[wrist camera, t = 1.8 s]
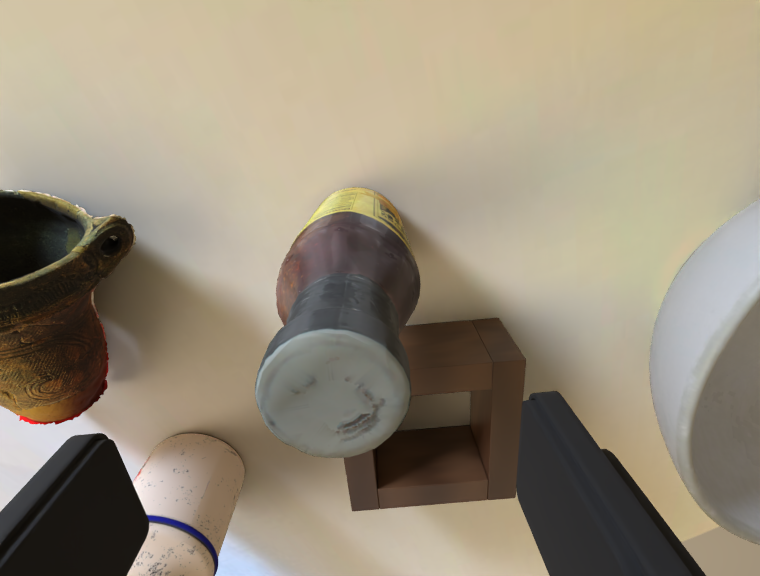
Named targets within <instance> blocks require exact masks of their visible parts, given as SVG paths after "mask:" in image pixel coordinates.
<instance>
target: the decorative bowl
mask: <svg viewBox="0 0 760 576" xmlns="http://www.w3.org/2000/svg"><path fill="white" fill-rule="evenodd" d="M649 370H650V386H651V392H652V399H653V404H654V409H655V413H656V416H657V420H658V424H659V427H660V430H661V433H662V436H663V439H664V441H665V444H666V446H667V449H668V451H669V454H670V456H671V459H672V461H673V463H674V465H675V467H676V469H677V471H678V473H679V475H680V477H681V479H682V481H683V483H684V484H685V486H686V488H687V490H688V491H689V493H690V494H691V496H692V497H693V499H694V500H695V501H696V503H697V504H698V506H699V507H700V508H701V509H702V510H703V511H704V512H705V513H706V514H707V515H708V517H710V518H711V519H712V520H713V521H714V522H716V523H717V524H718V525H719V526H721V527H723V528H724V529H726V530H727V531H729V532H731V533H732V534H734V535H736V536H738V537H740V538H742V539H745V540H747V541H750V542H752V543H755V544H758V545H760V198H759V199H758V200H756V201H755V202H753V203H752V204H750V205H749V206H747V207H746V208H744V209H743V210H741V211H740V212H739V213H737V214H736V215H735V216H733V217H732V218H730V219H729V220H728V221H727V222H726V223H724V224H723V225H722V226H721V227H719V228H718V229H717V230H716V231H715V232H714V233H713V234H712V235H711V236H710V237H708V238H707V239H706V240H705V241H704V242H703V243H702V245H701V246H700V247H699V248H698V249H697V250H696V251H695V252H694V253H693V254H692V256H691V257H690V258H689V259H688V260H687V262H686V263H685V264H684V266H683V267H682V268H681V270H680V271H679V273H678V274H677V276H676V277H675V279H674V281H673V282H672V284H671V286H670V287H669V289H668V291H667V293H666V295H665V297H664V299H663V302H662V304H661V307H660V309H659V312H658V315H657V318H656V321H655V325H654V329H653V334H652V340H651V347H650V361H649Z"/></svg>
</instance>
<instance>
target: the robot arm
mask: <svg viewBox="0 0 760 576" xmlns="http://www.w3.org/2000/svg"><path fill="white" fill-rule="evenodd" d="M516 490H517V496H518V499H519V502H520V505H521V507H522V510H523V512H524V515H525V517H526V520H527V522H528V524H529V527H530V529H531V532H532V534H533V536H534V539H535V541H536V544H537V546H538V549H539V551H540V553H541V556H542V558H543V561H544V563H545V566H546V568H547V570H548V573H549V575H550V576H706V575H705V574H704V572H703V571H702V570H701V568H700V567H699V566H698V564H697V563H696V562H695V560H694V559H693V558H692V557H691V555H690V554H689V552H688V551H687V550H686V548H685V547H684V546H683V545H682V543H681V542H680V541H679V539H678V538H677V537H676V535H675V534H674V533H673V531H672V530H671V529H670V527H669V526H668V525H667V523H666V522H665V521H664V519H663V518H662V517H661V515H660V514H659V513H658V512H657V510H656V509H655V508H654V506H653V505H652V504H651V502H650V501H649V500H648V498H647V497H646V496H645V494H644V493H643V492H642V490H641V489H640V488H639V486H638V485H637V484H636V482H635V481H634V480H633V479H632V477H631V476H630V475H629V473H628V472H627V471H626V469H625V468H624V467H623V465H622V464H621V463H620V461H619V460H618V459H617V458H616V457H615V455H614V454H613V453H612V452H610V451H608V450H607V449H600V448H599V446H598V445H597V443H596V442H595V441H594V439H593V438H592V437H591V435H590V434H589V432H588V431H587V430H586V428H585V427H584V426H583V424H582V423H581V421H580V420H579V419H578V417H577V416H576V415H575V413H574V412H573V411H572V409H571V408H570V406H569V405H568V404H567V402H566V401H565V400H564V398H563V397H562V395H561V394H560V393H559V392H557V391H552V392H541V393H532V394H531V395H530V397H529V400H526V401H523V403H522V411H521V424H520V438H519V452H518V466H517V480H516ZM148 531H149V519H148V517H147V515H146V512H145V510H144V508H143V506H142V503H141V501H140V499H139V497H138V494H137V492H136V490H135V488H134V485H133V483H132V481H131V479H130V476H129V474H128V472H127V470H126V467H125V465H124V463H123V461H122V458H121V456H120V454H119V452H118V449H117V447H116V445H115V443H114V441H113V440H111V439H108V437H107V436H106V435H104V434H102V433H97V434H86V435H75V436H73V437H71V438H69V439H68V440H67V441H66V442H65V443H64V444H63V445H62V446H61V447H60V448H59V449H58V451H57V452H56V453H55V454H54V455H53V456H52V457H51V458H50V459H49V460H48V461H47V462H46V463H45V465H44V466H43V467H42V468H41V469H40V470H39V471H38V472H37V473H36V474H35V475H34V476H33V477H32V478H31V480H30V481H29V482H28V483H27V484H26V485H25V486H24V487H23V488H22V489H21V490H20V491H19V492H18V494H17V495H16V496H15V497H14V498H13V499H12V500H11V501H10V502H9V503H8V504H7V505H6V506H5V508H4V509H3V510H2V511H1V512H0V576H127V574H128V572H129V570H130V569H131V567H132V565H133V563H134V561H135V559H136V557H137V555H138V553H139V551H140V549H141V547H142V545H143V544H144V542H145V540H146V537H147V535H148Z"/></svg>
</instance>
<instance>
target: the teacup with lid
mask: <svg viewBox="0 0 760 576" xmlns="http://www.w3.org/2000/svg"><path fill="white" fill-rule="evenodd" d="M244 477H245V469H244V465H243V462H242V460H241V458H240V457H239V455H238V454H237V453H236V451H235V450H234V449H233V448H232V447H230V446H229V445H228V444H226V443H225V442H223V441H221V440H219V439H217V438H214V437H211V436H208V435H203V434H194V433H189V434H180V435H176V436H173V437H170V438H168V439H166V440H164V441H163V442H161V443H160V444H159V445H157V446H156V448H155V449H154V450H153V451H152V453H151V454H150V456H149V458H148V459H147V461H146V462H145V464H144V465H143V467H142V468H141V470H140V472H139V473H138V475H137V476H136V478H135V479H134V481H133V485H134V488H135V490H136V492H137V494H138V497H139V499H140V501H141V503H142V506H143V508H144V510H145V512H146V515H147V517H148V519H149V531H148V535H147V537H146V540H145V542H144V544H143V545H142V547H141V549H140V551H139V553H138V555H137V557H136V559H135V561H134V563H133V565H132V567H131V569H130V570H129V572H128V574H127V576H215V574H216V572H217V568H218V556H219V553H220V550H221V547H222V544H223V541H224V538H225V535H226V532H227V529H228V526H229V523H230V520H231V517H232V514H233V511H234V508H235V505H236V502H237V500H238V497H239V494H240V491H241V488H242V485H243V482H244Z"/></svg>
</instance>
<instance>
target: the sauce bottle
mask: <svg viewBox="0 0 760 576" xmlns="http://www.w3.org/2000/svg"><path fill="white" fill-rule="evenodd" d="M419 295H420V275H419V271H418V267H417V264H416V261H415V258H414V255H413V253H412V250H411V246H410V243H409V241H408V238H407V236H406V233H405V230H404V227H403V224H402V222H401V219H400V216H399V214H398V212H397V210H396V209H395V207H394V206H393V205H392V203H391V202H390V201H389V200H387V199H386V198H385V197H384V196H382V195H381V194H379V193H377V192H375V191H373V190H370V189H366V188H355V187H353V188H347V189H343V190H340V191H337V192H334V193H333V194H331V195H330V196H329V197H328V198H327V199H325V200H324V201H323V202H322V204H321V205H320V206H319V207H318V209H317V210H316V211H315V213H314V214H313V216H312V217H311V219H310V220H309V221H308V223H307V224H306V225H305V227H304V228H303V229H302V231H301V232H300V233H299V235H298V236H297V238H296V239H295V241H294V242H293V244H292V246H291V248H290V251H289V252H288V253H287V255H286V257H285V259H284V261H283V263H282V266H281V268H280V272H279V277H278V279H277V287H276V296H277V308H278V314H279V316H280V318H281V320H282V322H283V325H284V327H283V328H281V329H280V330H279V331H278V333H277V334H276V335H275V337H274V338H273V340H272V341H271V342H270V344H269V346H268V348H267V351H266V353H265V355H264V358H263V360H262V363H261V365H260V368H259V370H258V374H257V378H256V385H255V396H256V402H257V405H258V408H259V410H260V412H261V415H262V417H263V420H264V422H265V424H266V426H267V427H268V428H269V429H270V431H271V432H272V433H273V434H274V435H275V436H276V437H277V438H278V439H280V440H281V441H282V442H284V443H285V444H287V445H290V446H293V447H295V448H297V449H298V450H300V451H302V452H304V453H306V454H309V455H312V456H317V457H325V458H346V457H352V456H355V455H359V454H362V453H365V452H368V451H369V450H372V449H375V448H377V447H378V446H379V445H381V444H382V443H383V442H384V441H385V440H387V439H388V438H389V437H390V436H391V435H392V434H393V433H394V432H395V431H396V429H397V428H398V427H399V426H400V425H401V423H402V422H403V420H404V418H405V416H406V414H407V411H408V408H409V404H410V400H411V381H410V368H409V360H408V356H407V353H406V351H405V349H404V347H403V345H402V343H401V341H400V339H399V334H400V332H401V331H402V329H403V327H404V326H405V324H406V323H407V321H408V319H409V318H410V316H411V315H412V313H413V311H414V310H415V307H416V305H417V302H418V299H419Z"/></svg>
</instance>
